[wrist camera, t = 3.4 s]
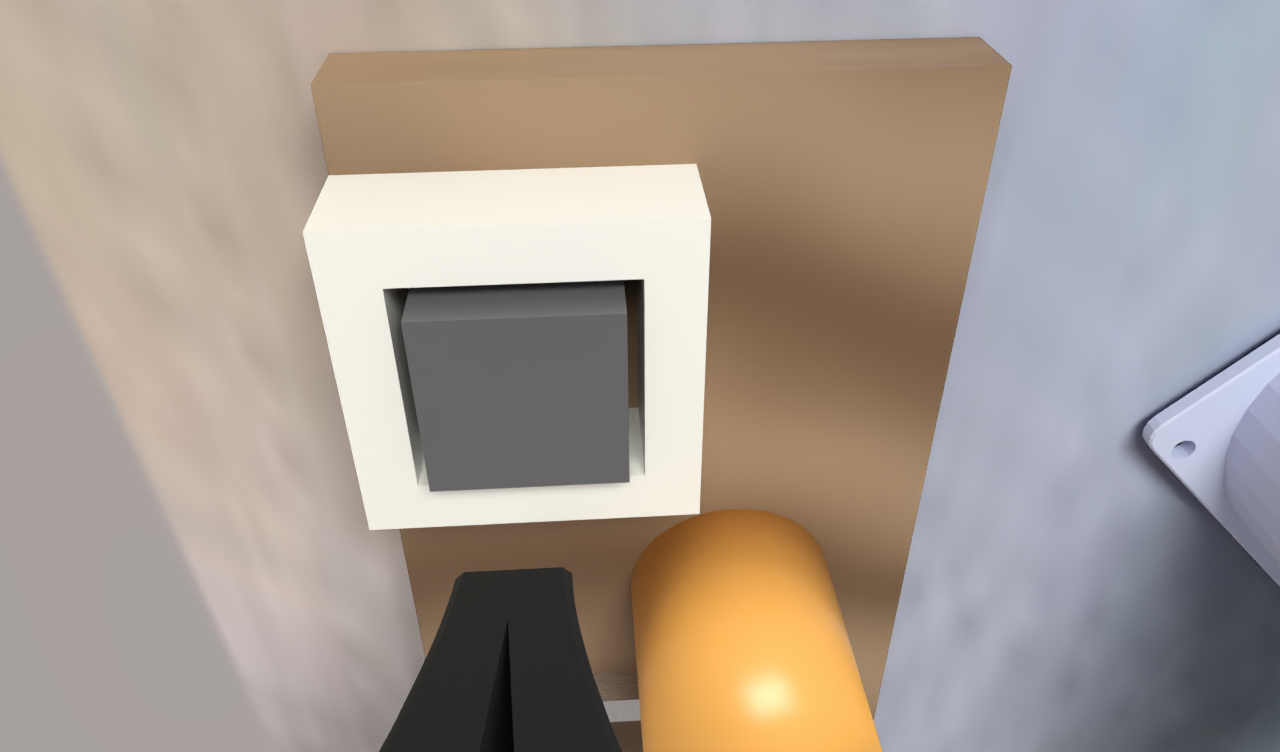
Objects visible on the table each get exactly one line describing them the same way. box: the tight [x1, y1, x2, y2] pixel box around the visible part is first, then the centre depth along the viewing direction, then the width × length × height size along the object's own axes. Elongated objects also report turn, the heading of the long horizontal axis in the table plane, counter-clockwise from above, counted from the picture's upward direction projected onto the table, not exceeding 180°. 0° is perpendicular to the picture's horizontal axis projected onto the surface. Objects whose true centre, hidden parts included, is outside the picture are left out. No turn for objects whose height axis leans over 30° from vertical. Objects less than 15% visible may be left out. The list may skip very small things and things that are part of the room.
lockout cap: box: [631, 509, 882, 752], centre depth 20 cm, size 4×4×5 cm
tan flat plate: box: [311, 37, 1012, 752], centre depth 23 cm, size 23×11×2 cm, turn 1°
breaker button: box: [401, 280, 630, 492], centre depth 17 cm, size 3×3×2 cm
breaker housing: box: [303, 164, 711, 530], centre depth 17 cm, size 6×6×2 cm
